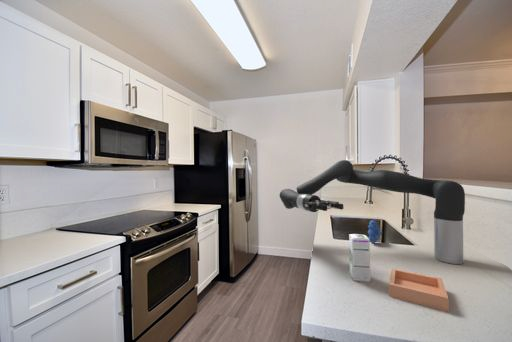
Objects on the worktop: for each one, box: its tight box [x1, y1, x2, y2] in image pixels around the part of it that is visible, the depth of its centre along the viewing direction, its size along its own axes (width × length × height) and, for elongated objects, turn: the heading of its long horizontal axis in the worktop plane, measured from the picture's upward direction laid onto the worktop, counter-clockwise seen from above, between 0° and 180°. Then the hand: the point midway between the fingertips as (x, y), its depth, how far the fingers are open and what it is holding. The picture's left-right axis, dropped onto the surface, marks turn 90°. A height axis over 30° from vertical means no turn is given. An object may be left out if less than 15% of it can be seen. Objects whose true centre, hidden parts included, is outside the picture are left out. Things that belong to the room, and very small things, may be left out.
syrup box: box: [348, 233, 372, 283], centre depth 78 cm, size 6×6×14 cm
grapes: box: [367, 220, 383, 244], centre depth 116 cm, size 12×7×12 cm, turn 138°
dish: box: [388, 268, 450, 313], centre depth 68 cm, size 13×13×4 cm
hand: (334, 207), depth 88 cm, fingers open, 8 cm apart
